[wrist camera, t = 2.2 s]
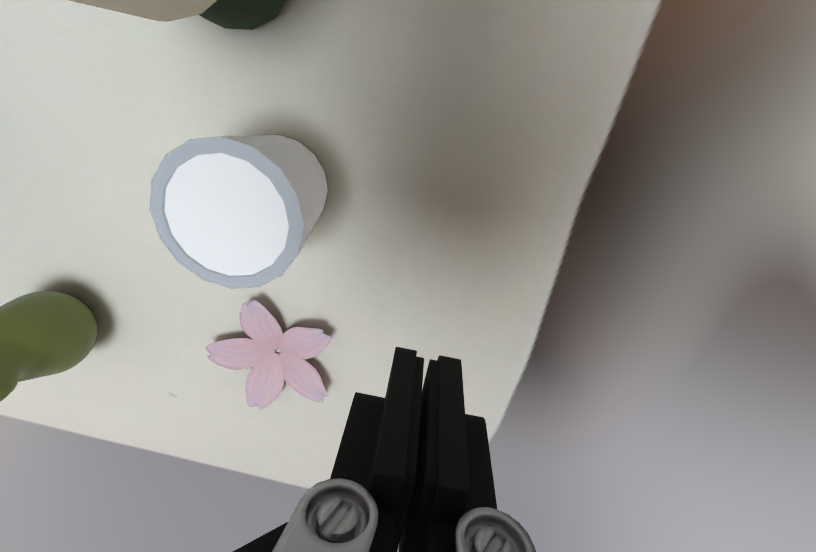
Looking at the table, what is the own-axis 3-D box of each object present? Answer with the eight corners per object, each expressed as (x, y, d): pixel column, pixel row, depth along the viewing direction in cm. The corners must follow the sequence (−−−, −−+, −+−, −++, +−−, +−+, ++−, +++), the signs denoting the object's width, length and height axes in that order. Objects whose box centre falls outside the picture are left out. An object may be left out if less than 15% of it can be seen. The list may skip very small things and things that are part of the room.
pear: (78, 265, 28) (-94, 350, 19) (131, 330, 30) (-4, 436, 21) (20, 297, 30) (-167, 391, 21) (74, 357, 32) (-76, 468, 22)
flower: (315, 261, 27) (308, 271, 26) (374, 387, 31) (371, 401, 29) (183, 305, 29) (170, 316, 28) (253, 418, 33) (244, 433, 31)
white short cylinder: (340, 130, 24) (303, 146, 18) (336, 247, 27) (302, 298, 20) (217, 116, 24) (136, 127, 18) (226, 234, 27) (158, 280, 20)
